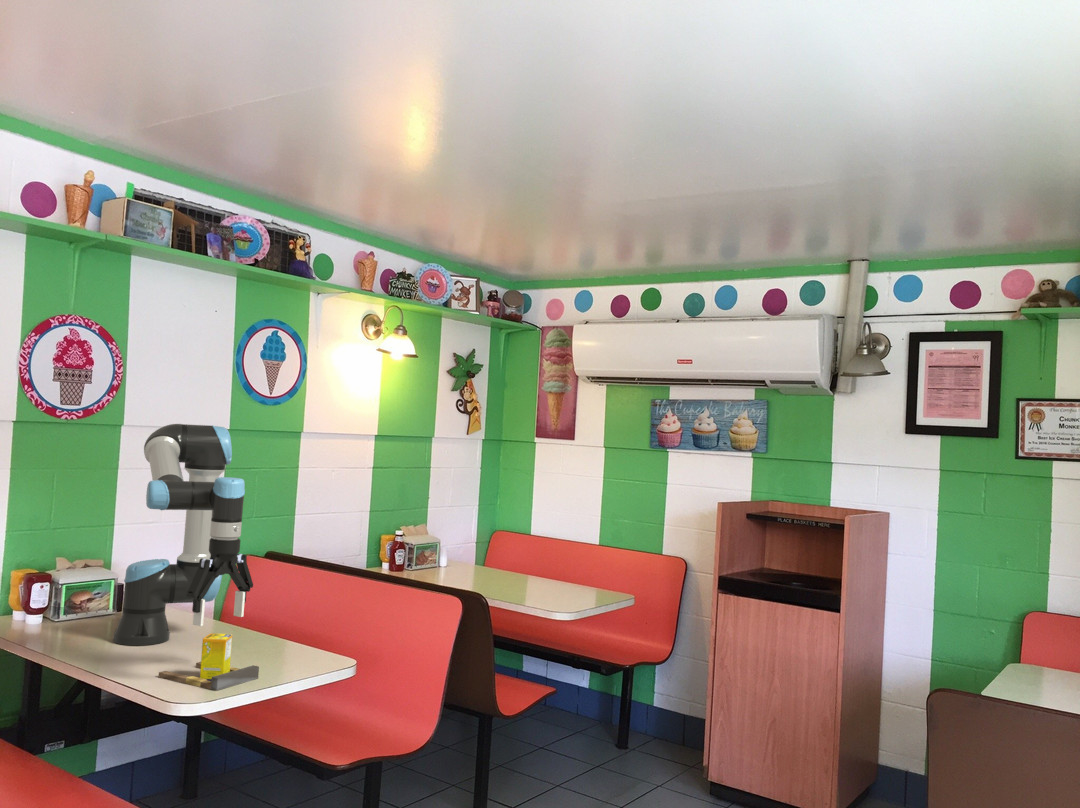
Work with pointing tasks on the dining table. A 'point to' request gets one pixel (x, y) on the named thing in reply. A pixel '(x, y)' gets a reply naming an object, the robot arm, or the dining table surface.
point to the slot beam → (216, 678)
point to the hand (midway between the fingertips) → (218, 620)
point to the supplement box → (215, 655)
